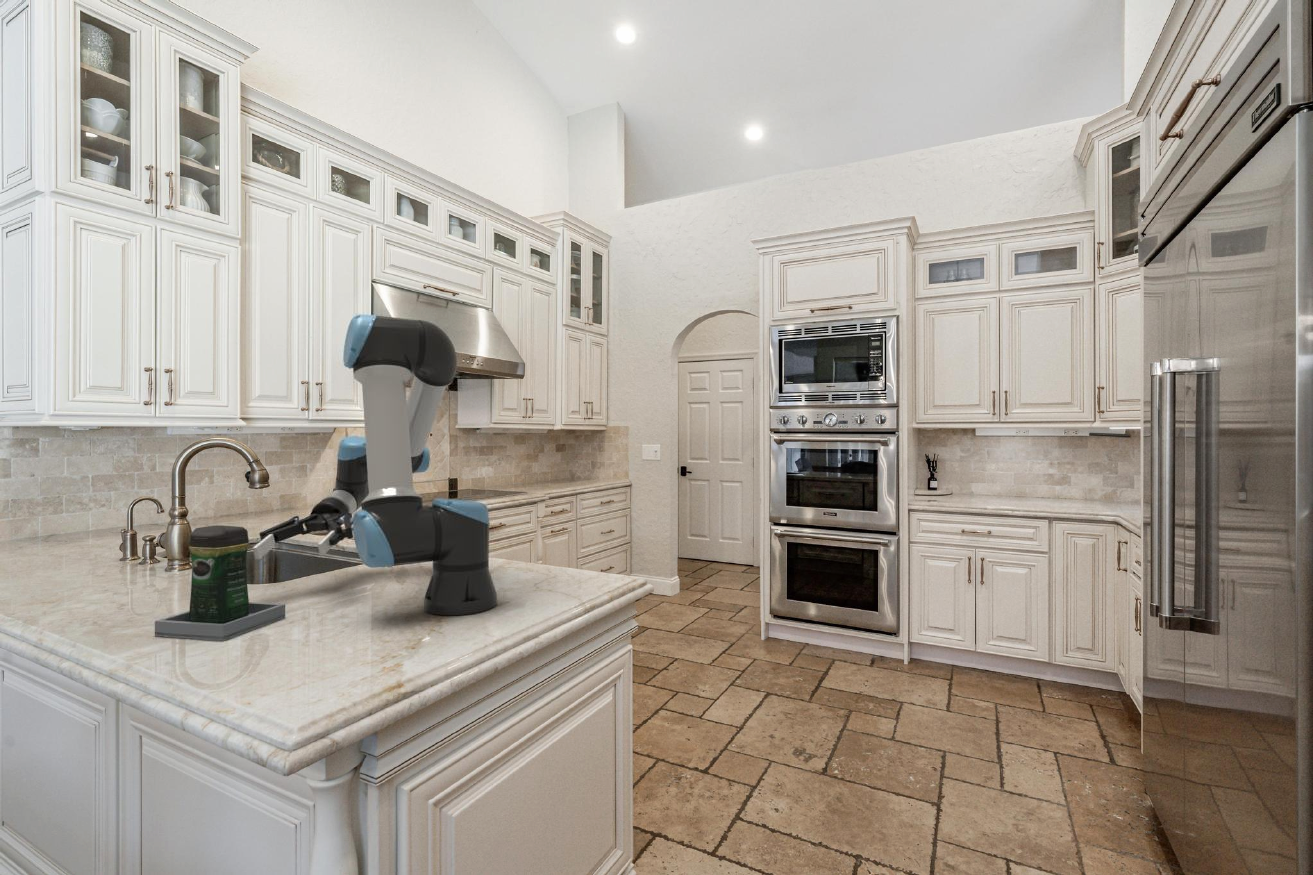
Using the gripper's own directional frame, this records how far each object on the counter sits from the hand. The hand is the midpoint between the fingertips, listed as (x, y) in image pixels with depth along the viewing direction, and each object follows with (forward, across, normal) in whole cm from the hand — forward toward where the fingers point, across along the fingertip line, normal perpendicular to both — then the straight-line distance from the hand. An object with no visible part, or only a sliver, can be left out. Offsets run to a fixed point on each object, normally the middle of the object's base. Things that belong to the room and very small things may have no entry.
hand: (288, 551), depth 132 cm
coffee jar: (+13, +8, -8) cm, 17 cm away
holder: (+15, +6, -8) cm, 18 cm away
